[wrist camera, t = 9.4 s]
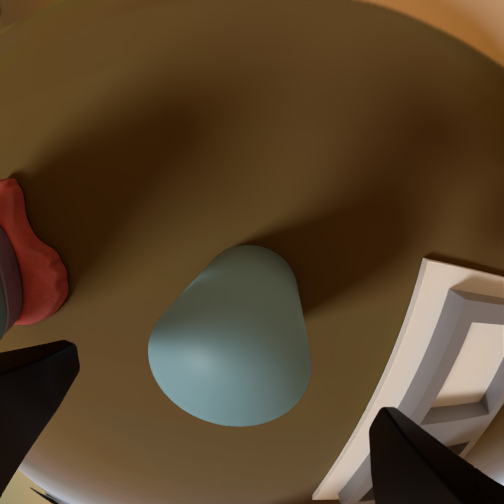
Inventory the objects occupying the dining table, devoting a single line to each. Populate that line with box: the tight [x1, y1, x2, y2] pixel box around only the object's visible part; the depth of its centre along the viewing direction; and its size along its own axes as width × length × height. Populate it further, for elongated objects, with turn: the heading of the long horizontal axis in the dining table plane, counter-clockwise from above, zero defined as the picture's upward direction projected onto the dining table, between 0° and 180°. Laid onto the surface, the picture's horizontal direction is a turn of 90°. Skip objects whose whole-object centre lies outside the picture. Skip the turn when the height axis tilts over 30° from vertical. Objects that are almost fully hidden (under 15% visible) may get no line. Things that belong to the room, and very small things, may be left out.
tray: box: [312, 258, 504, 504], centre depth 15 cm, size 23×14×2 cm, turn 171°
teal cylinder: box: [148, 245, 311, 426], centre depth 11 cm, size 5×5×7 cm
